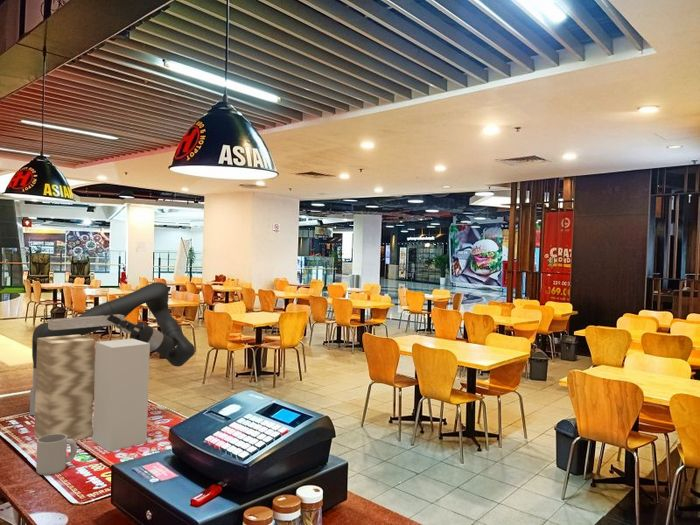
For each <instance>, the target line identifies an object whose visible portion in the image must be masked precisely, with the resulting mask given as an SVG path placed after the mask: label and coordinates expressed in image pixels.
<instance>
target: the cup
mask: <svg viewBox="0 0 700 525" xmlns="http://www.w3.org/2000/svg"><path fill="white" fill-rule="evenodd" d="M68 445H69V446H70V453H69V455H68V456H67V450H68V448H67V447H68ZM77 451H78V445H77V442H76V440H73V439H67V436H66V435H64V434H50V435H45V436H42V437H40V438H37V439H36V463H35V470H36V473H37V474H38V475H41V476H51V475H56V474H59V473H62V472H63V471H65V469H66V466H67V463H69V462H71V461H73V460H74V458H75V457H76V455H77Z"/></svg>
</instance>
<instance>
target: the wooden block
mask: <svg viewBox="0 0 700 525" xmlns="http://www.w3.org/2000/svg"><path fill="white" fill-rule="evenodd" d="M109 316H110V315H103V316H90V317H78V316H76V317H66V318H65V317H63V318H62V317H61V318H51V319H48V320H47V323H48V329H50V330H62V329H74V328H85V327H97V326H108V325H110V326H114V325H118V324H114V323H112V322H110V321H108V318H109ZM114 316H116V317H118V318H120V320H121V319H123V320H125V318H124V315H120V314H117V315H114ZM108 327H109V326H108Z"/></svg>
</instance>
